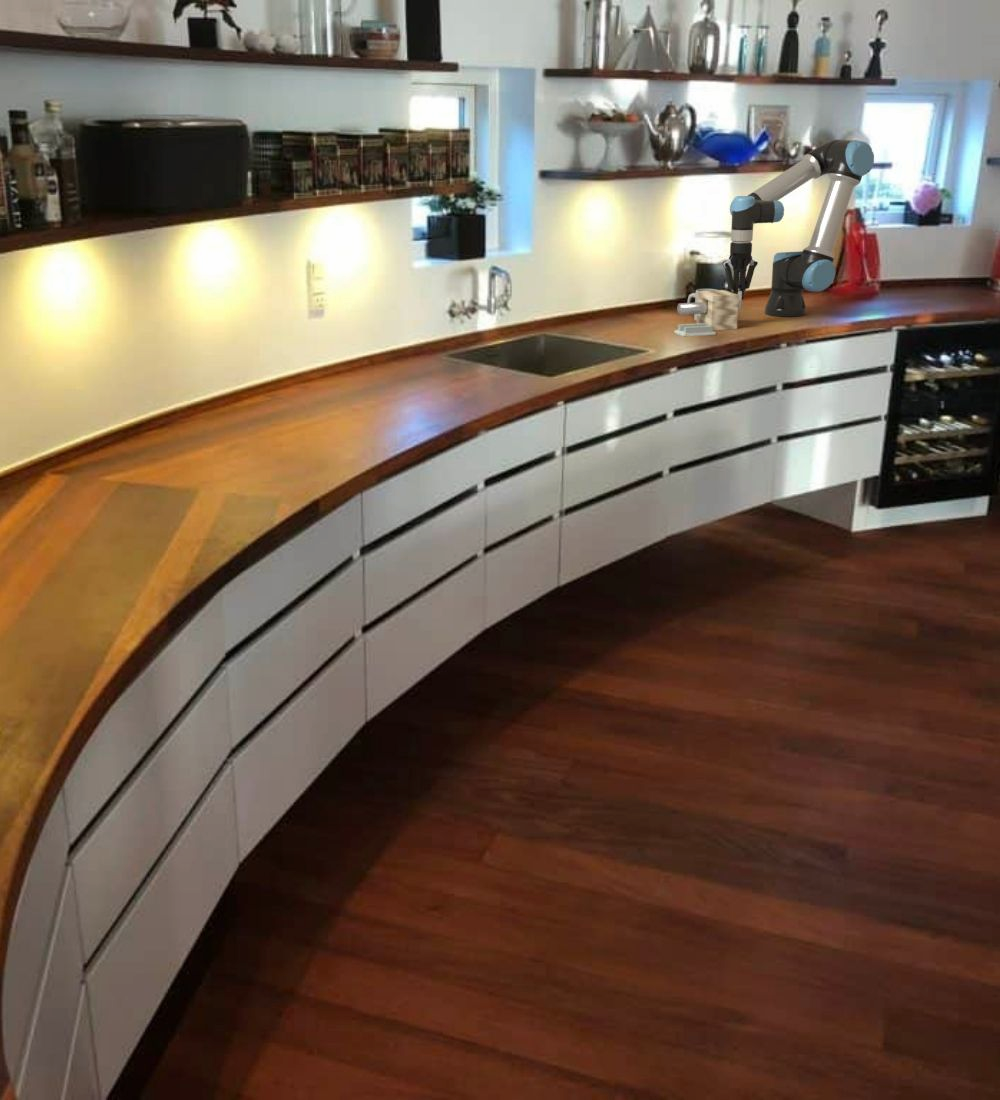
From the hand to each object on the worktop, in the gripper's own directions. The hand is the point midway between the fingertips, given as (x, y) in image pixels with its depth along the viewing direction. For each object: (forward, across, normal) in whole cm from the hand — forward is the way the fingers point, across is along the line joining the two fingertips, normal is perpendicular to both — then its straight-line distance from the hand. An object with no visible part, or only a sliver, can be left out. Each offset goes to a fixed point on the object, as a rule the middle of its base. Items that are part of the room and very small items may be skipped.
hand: (737, 309), depth 436 cm
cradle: (+6, +21, +10) cm, 24 cm away
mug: (+6, +7, -15) cm, 18 cm away
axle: (-1, +12, 0) cm, 12 cm away
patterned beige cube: (+6, +8, 0) cm, 10 cm away
